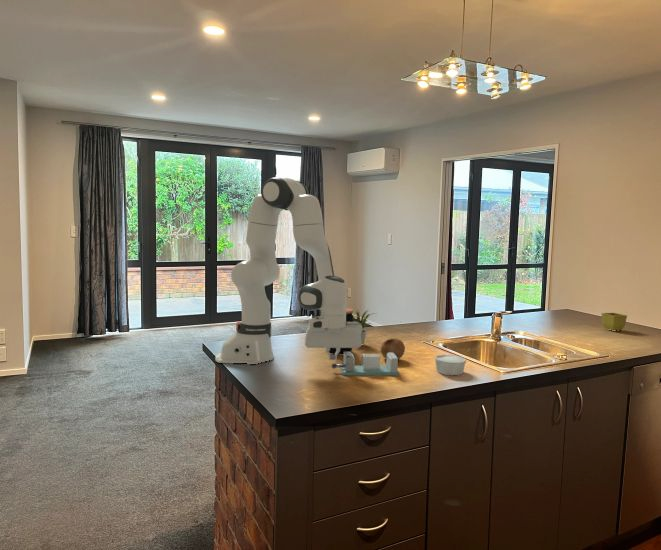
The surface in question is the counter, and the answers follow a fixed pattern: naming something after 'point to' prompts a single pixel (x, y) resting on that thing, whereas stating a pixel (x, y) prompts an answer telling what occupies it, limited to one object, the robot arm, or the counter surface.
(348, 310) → the coffee jar
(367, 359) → the block
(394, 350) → the onion
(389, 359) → the vise
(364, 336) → the house plant
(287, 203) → the robot arm
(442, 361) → the ramekin
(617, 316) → the flower pot
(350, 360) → the jaw
